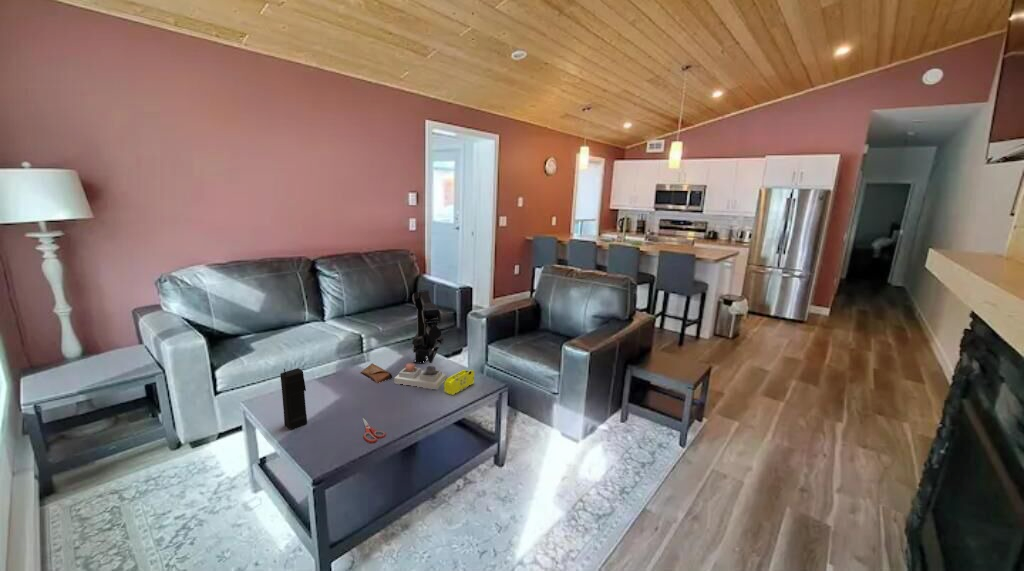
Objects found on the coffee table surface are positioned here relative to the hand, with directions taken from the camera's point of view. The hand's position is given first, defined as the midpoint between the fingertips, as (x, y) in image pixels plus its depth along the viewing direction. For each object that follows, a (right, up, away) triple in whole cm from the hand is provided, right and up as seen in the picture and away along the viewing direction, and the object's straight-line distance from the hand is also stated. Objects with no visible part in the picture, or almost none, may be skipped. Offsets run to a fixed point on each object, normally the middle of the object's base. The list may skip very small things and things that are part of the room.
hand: (430, 362), depth 203 cm
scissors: (-18, -20, -38) cm, 46 cm away
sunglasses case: (-30, -9, +8) cm, 32 cm away
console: (-6, -10, +4) cm, 12 cm away
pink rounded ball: (-11, -4, +4) cm, 12 cm away
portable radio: (-46, -18, -36) cm, 62 cm away
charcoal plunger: (0, -5, +1) cm, 6 cm away
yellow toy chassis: (+14, -12, -2) cm, 19 cm away
